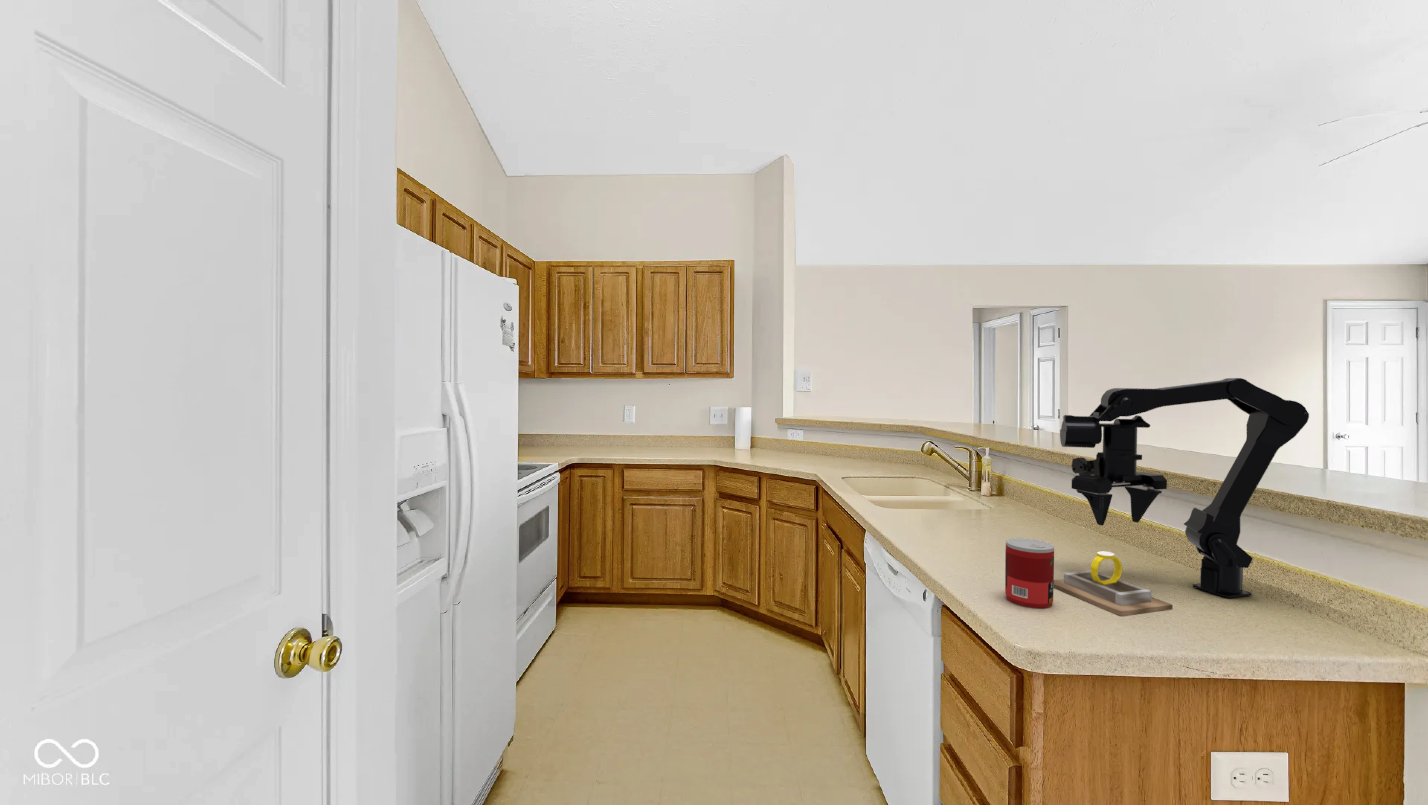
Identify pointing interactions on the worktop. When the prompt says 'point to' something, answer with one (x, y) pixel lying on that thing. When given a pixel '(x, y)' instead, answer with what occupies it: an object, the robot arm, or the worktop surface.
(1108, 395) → the robot arm
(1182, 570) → the worktop surface
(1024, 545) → the canned food
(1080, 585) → the track board
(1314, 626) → the worktop surface
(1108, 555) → the watch
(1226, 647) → the worktop surface
